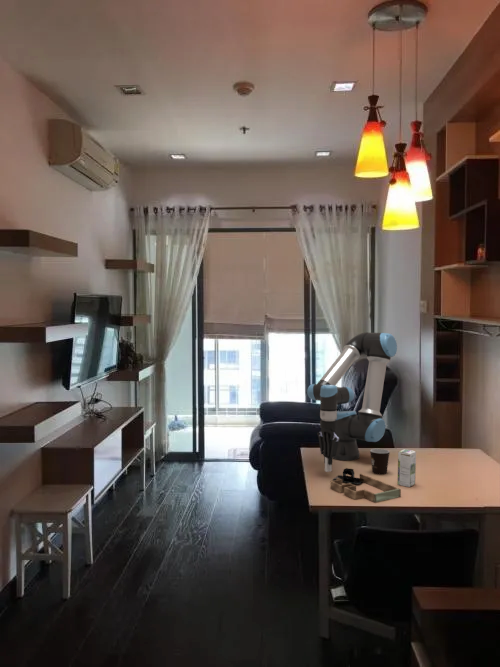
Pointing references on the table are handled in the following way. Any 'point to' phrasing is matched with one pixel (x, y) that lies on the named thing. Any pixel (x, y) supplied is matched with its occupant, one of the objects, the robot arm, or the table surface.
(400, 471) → the syrup box
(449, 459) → the table surface
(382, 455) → the coffee mug
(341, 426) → the robot arm
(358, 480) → the black notched block
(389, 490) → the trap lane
